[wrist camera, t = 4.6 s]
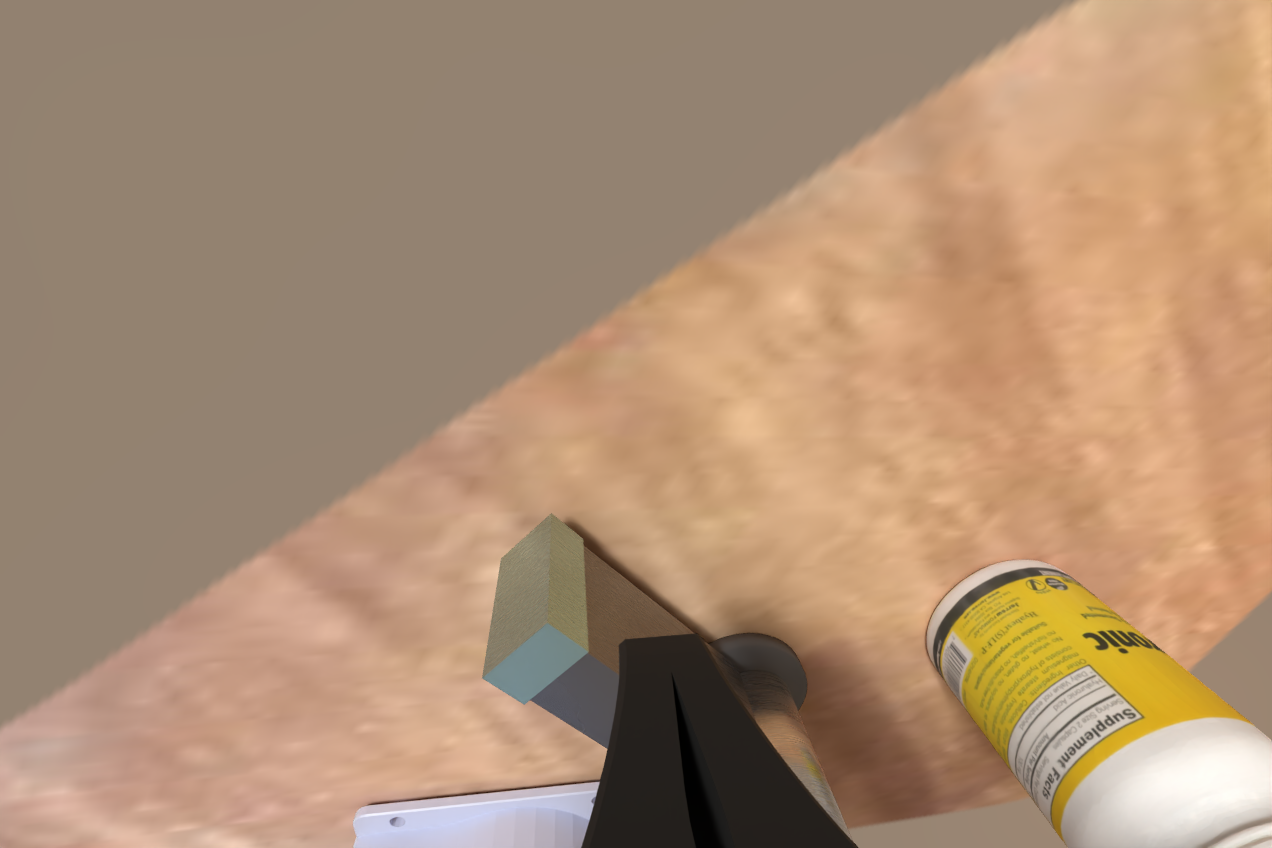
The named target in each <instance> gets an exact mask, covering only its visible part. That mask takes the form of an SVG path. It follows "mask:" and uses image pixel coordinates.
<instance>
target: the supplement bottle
mask: <svg viewBox="0 0 1272 848" xmlns="http://www.w3.org/2000/svg"><path fill="white" fill-rule="evenodd" d="M927 650H928V653H929V656H930V659H931V661H932V663H933V664H934V666H935V668H936V669H937V671H938V672H939V673H940V675H941V676H942V678H943V679H944V680H945V682H946V683H947V685H948V686H949V688H950V689H951V690H952V692H953V693H954V694H955V696H956V697H957V698H958V700H959V701H960V702H961V704H962V705H963V706H964V708H965V709H966V710H967V712H968V713H969V714H970V716H971V717H972V719H973V720H974V722H975V723H976V724H977V725H978V726H979V728H980V729H981V730H982V732H983V733H984V735H985V736H986V737H987V739H988V740H989V741H990V743H991V744H992V746H993V747H994V749H995V750H996V751H997V752H998V754H999V755H1000V756H1001V757H1002V759H1003V760H1004V761H1005V763H1006V764H1007V766H1008V767H1009V768H1010V770H1011V771H1012V773H1013V774H1014V775H1015V777H1016V778H1017V779H1018V781H1019V782H1020V783H1021V785H1022V786H1023V787H1024V789H1025V790H1026V792H1027V793H1028V794H1029V796H1030V797H1031V798H1032V799H1033V801H1034V802H1035V804H1036V805H1037V807H1038V808H1039V809H1040V811H1041V812H1042V813H1043V815H1044V816H1045V817H1046V819H1047V820H1048V821H1049V823H1050V824H1051V826H1052V827H1053V828H1054V830H1055V831H1056V832H1057V834H1058V835H1059V837H1060V838H1061V839H1062V840H1063V841H1064V843H1065V845H1066V846H1067V847H1068V848H1272V740H1270V739H1269V738H1268V737H1267V736H1266V735H1265V734H1264V733H1263V732H1261V731H1260V730H1259V729H1257V727H1255V726H1254V725H1253V724H1252V723H1251V722H1250V721H1249V720H1247V719H1246V718H1245V717H1244V716H1242V715H1241V714H1240V713H1239V712H1237V711H1236V710H1235V709H1234V708H1233V707H1231V706H1230V705H1229V704H1227V703H1226V702H1225V701H1223V700H1222V699H1221V698H1220V697H1219V696H1218V695H1216V694H1215V693H1214V692H1213V691H1212V690H1210V689H1209V688H1208V687H1206V686H1205V685H1204V684H1203V683H1201V682H1200V681H1199V680H1198V679H1197V678H1196V677H1194V676H1193V675H1192V674H1191V673H1189V672H1188V671H1187V670H1186V669H1184V668H1183V667H1182V666H1181V665H1179V664H1178V663H1177V662H1176V661H1175V660H1174V659H1172V658H1171V657H1170V656H1168V655H1167V654H1166V653H1165V652H1164V651H1162V650H1161V649H1160V648H1158V647H1157V646H1156V645H1155V644H1154V643H1152V642H1151V641H1150V640H1149V639H1147V638H1146V637H1145V636H1144V635H1143V634H1141V633H1140V632H1139V631H1138V630H1136V629H1135V628H1134V627H1133V626H1131V625H1130V624H1129V623H1128V622H1126V621H1125V620H1124V619H1123V618H1122V617H1120V616H1119V615H1118V614H1117V613H1115V612H1114V611H1113V610H1112V609H1110V608H1109V607H1108V606H1107V605H1105V604H1104V603H1103V602H1102V601H1100V600H1099V599H1098V598H1097V597H1096V596H1095V595H1093V594H1092V593H1091V592H1089V591H1088V590H1087V589H1086V588H1085V587H1083V586H1082V585H1081V584H1080V583H1078V582H1077V581H1076V580H1074V579H1073V578H1072V577H1070V576H1069V575H1068V574H1066V573H1065V572H1063V571H1062V570H1060V569H1059V568H1057V567H1055V566H1053V565H1050V564H1048V563H1045V562H1041V561H1036V560H1010V561H1004V562H999V563H996V564H993V565H990V566H988V567H985V568H983V569H981V570H979V571H977V572H975V573H973V574H972V575H970V576H969V577H967V578H965V579H964V580H963V581H961V582H960V583H959V584H957V585H956V586H955V587H954V588H953V589H952V590H951V591H950V592H949V593H948V594H947V595H946V596H945V597H944V598H943V600H942V601H941V602H940V603H939V605H938V606H937V608H936V610H935V611H934V613H933V615H932V617H931V619H930V622H929V625H928V629H927Z"/></svg>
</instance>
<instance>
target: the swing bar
mask: <svg viewBox="0 0 1272 848" xmlns="http://www.w3.org/2000/svg"><path fill="white" fill-rule="evenodd" d="M683 634H695V633H694V632H692V631H691V630H690V629H689V628H687V627H686V626H685V625H684V624H682V623H681V622H680V621H679V620H677V619H676V618H675V617H674V616H672V615H671V614H670V613H669V612H667V611H666V610H665V609H663V608H662V607H661V606H660V605H658V604H657V603H656V602H655V601H653V600H652V599H651V598H650V597H648V596H647V595H646V594H645V593H643V592H642V591H641V590H639V589H638V588H637V587H636V586H634V585H633V584H632V583H631V582H629V581H628V580H627V579H626V578H624V577H623V576H622V575H621V574H619V573H618V572H617V571H615V570H614V569H613V568H612V567H610V566H609V565H608V564H607V563H605V562H604V561H603V560H602V559H600V558H599V557H598V556H597V555H595V554H594V553H593V552H591V551H590V550H589V549H588V548H586V547H585V546H584V545H583V538H582V537H580V536H579V535H578V534H577V533H575V532H574V531H573V530H572V529H570V528H569V527H568V526H567V525H565V524H564V523H563V522H562V521H560V520H559V519H558V518H557V517H555V516H554V515H553V514H552V513H551V514H550V515H549V516H548V517H547V518H546V519H545V520H544V521H543V522H541V523H540V524H539V525H538V526H537V527H536V528H535V529H534V530H533V531H531V532H530V533H529V534H528V535H527V536H526V537H525V538H524V539H523V540H521V541H520V542H519V543H518V544H517V545H516V546H515V547H514V548H513V549H511V550H510V551H509V552H508V553H507V554H506V555H505V556H504V557H503V558H501V563H500V569H499V576H498V582H497V588H496V595H495V601H494V607H493V613H492V620H491V626H490V632H489V639H488V645H487V651H486V658H485V664H484V670H483V677H482V678H483V679H484V680H486V681H487V682H489V683H491V684H492V685H494V686H495V687H497V688H499V689H500V690H502V691H503V692H505V693H507V694H508V695H510V696H511V697H513V698H515V699H516V700H518V701H519V702H521V703H523V704H526V703H527V702H528V701H529V700H531V701H533V702H534V703H536V704H537V705H539V706H541V707H542V708H544V709H545V710H547V711H549V712H550V713H552V714H553V715H555V716H556V717H558V718H560V719H561V720H563V721H564V722H566V723H568V724H569V725H571V726H572V727H574V728H575V729H577V730H579V731H580V732H582V733H583V734H585V735H587V736H588V737H590V738H591V739H593V740H594V741H596V742H598V743H599V744H601V745H602V746H604V747H606V748H607V749H608V745H609V740H610V735H611V730H612V725H613V719H614V714H615V708H616V701H617V693H618V685H619V644H620V643H621V642H623V641H624V640H625V639H633V638H646V637H658V636H670V635H683ZM704 642H705V641H704ZM705 644H706V645H707V647H708V649H709V651H710V652H711V654H712V656H713V658H714V659H715V661H716V663H717V664H718V666H719V668H720V669H721V671H722V672H723V674H724V676H725V677H726V679H727V680H728V682H729V683H730V685H731V686H732V688H733V689H734V691H735V693H736V694H737V696H738V697H739V699H740V700H741V702H742V703H743V704H744V706H745V707H746V709H747V710H748V712H749V713H750V715H751V716H752V717H753V719H754V720H755V721H756V723H757V724H758V726H759V727H760V728H761V730H762V731H763V732H764V734H765V735H766V737H767V738H768V739H769V741H770V742H771V743H772V745H773V746H774V747H775V749H776V750H777V751H778V753H779V754H780V755H781V757H782V758H783V759H784V761H785V762H786V763H787V764H788V766H789V767H790V768H791V770H792V771H793V772H794V773H795V774H796V776H797V777H798V778H799V779H800V781H801V782H802V783H803V784H804V786H805V787H806V788H807V789H808V790H809V792H810V793H811V794H812V795H813V797H814V798H815V799H816V800H817V801H818V802H819V804H820V805H821V806H822V807H823V808H824V810H825V811H826V812H827V813H828V814H829V815H830V817H831V818H832V819H833V820H834V821H835V822H836V823H837V825H838V826H839V827H840V828H841V829H842V830H843V831H844V832H845V833H846V835H847V836H848V837H849V838H850V839H851V840H852V838H851V836H850V833H849V831H848V828H847V826H846V824H845V821H844V819H843V816H842V814H841V812H840V809H839V807H838V805H837V802H836V800H835V797H834V795H833V793H832V790H831V788H830V786H829V783H828V781H827V778H826V776H825V774H824V771H823V769H822V767H821V764H820V762H819V759H818V757H817V755H816V752H815V750H814V748H813V745H812V743H811V741H810V738H809V736H808V733H807V731H806V729H805V726H804V724H803V722H802V719H801V717H800V714H799V712H798V710H797V707H796V705H795V703H794V700H793V698H792V695H791V693H790V691H789V688H788V686H787V684H786V683H785V682H784V681H783V680H782V679H781V678H780V677H778V676H777V675H775V674H773V673H770V672H766V671H760V670H749V671H742V672H739V670H738V667H737V666H735V665H734V664H733V663H732V662H730V661H729V660H728V659H727V658H725V657H724V656H723V655H722V654H720V653H719V652H718V651H716V650H715V649H714V648H713V647H711V646H710V645H709V644H708V643H706V642H705ZM852 841H853V840H852Z"/></svg>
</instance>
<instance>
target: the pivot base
mask: <svg viewBox="0 0 1272 848" xmlns="http://www.w3.org/2000/svg"><path fill="white" fill-rule="evenodd" d="M709 645H710V646H711V647H713V648H714V649H715V650H716V651H718V652H719V653H720V654H722V655H723V656H724V657H725V658H727V659H728V660H729V661H730V662H732V663H733V664H734V665H735V666H737V667H738V670H739V672H742V671H749V670H760V671H766V672H770V673H773V674H775V675H777V676H778V677H780V678H781V679H782V680H783V681H784V682H785V683H786V684H787V686H788V688H789V691H790V693H791V695H792V698H793V700H794V703H795V705H796V707H797V710H799V709H800V707H801V705H802V704H803V701H804V699H805V696H806V692H807V679H806V675H805V672H804V670H803V668H802V666H801V664H800V662H799V659H798V657H797V656H796V654H795V652H794V651H793V650H792V649H791V648H790V647H789V646H788V645H787V644H786V643H784V642H783V641H781V640H779V639H777V638H774V637H771V636H768V635H763V634H756V633H743V634H736V635H731V636H727V637H724V638H721V639H718V640H716V641H714V642H711V643H710V644H709Z"/></svg>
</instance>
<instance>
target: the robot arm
mask: <svg viewBox="0 0 1272 848" xmlns="http://www.w3.org/2000/svg"><path fill="white" fill-rule="evenodd" d="M353 827H354V830H355V834H356V837H357V838H356V840H355V843H354V846H353V848H858V847H857V846H856V844H855V843H854V842H853V841H852V840H851V839H850V838H849V837H848V836H847V835H846V833H845V832H844V831H843V830H842V829H841V828H840V827H839V826H838V825H837V823H836V822H835V821H834V820H833V819H832V818H831V817H830V815H829V814H828V813H827V812H826V811H825V810H824V808H823V807H822V806H821V805H820V804H819V802H818V801H817V800H816V799H815V798H814V797H813V795H812V794H811V793H810V792H809V790H808V789H807V788H806V787H805V786H804V784H803V783H802V782H801V781H800V779H799V778H798V777H797V776H796V774H795V773H794V772H793V771H792V770H791V768H790V767H789V766H788V764H787V763H786V762H785V761H784V759H783V758H782V757H781V755H780V754H779V753H778V751H777V750H776V749H775V747H774V746H773V745H772V743H771V742H770V741H769V739H768V738H767V737H766V735H765V734H764V732H763V731H762V730H761V728H760V727H759V726H758V724H757V723H756V721H755V720H754V719H753V717H752V716H751V715H750V713H749V712H748V710H747V709H746V707H745V706H744V704H743V703H742V702H741V700H740V699H739V697H738V696H737V694H736V693H735V691H734V689H733V688H732V686H731V685H730V683H729V682H728V680H727V679H726V677H725V676H724V674H723V672H722V671H721V669H720V668H719V666H718V664H717V663H716V661H715V659H714V658H713V656H712V654H711V652H710V651H709V649H708V647H707V645H706V644H705V642H704V640H703V638H702V637H701V636H699V635H698V634H697V633H695V634H683V635H670V636H658V637H646V638H633V639H625V640H624V641H623V642H621V643H620V644H619V685H618V693H617V701H616V708H615V714H614V719H613V725H612V730H611V735H610V740H609V745H608V750H607V755H606V759H605V764H604V768H603V771H602V775H601V779H600V782H590V783H580V784H571V785H561V786H551V787H541V788H532V789H522V790H512V791H503V792H493V793H483V794H474V795H464V796H454V797H445V798H435V799H425V800H415V801H406V802H396V803H386V804H377V805H368V806H364V807H362V808H360V809H358V811H357V812H356V814H355V817H354V820H353Z"/></svg>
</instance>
